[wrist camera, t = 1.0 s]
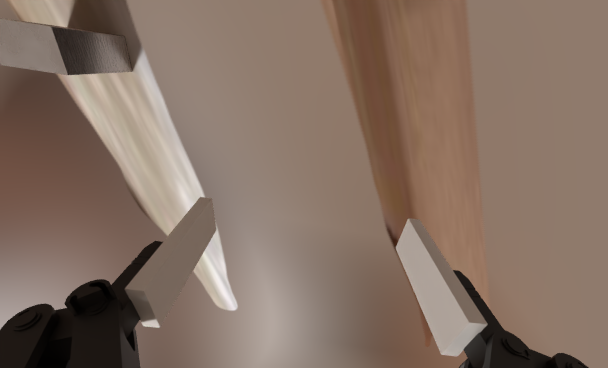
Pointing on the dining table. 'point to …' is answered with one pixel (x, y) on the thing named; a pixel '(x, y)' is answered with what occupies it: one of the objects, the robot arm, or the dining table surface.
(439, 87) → the dining table surface
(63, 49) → the socket
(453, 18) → the dining table surface
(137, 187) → the dining table surface
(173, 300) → the robot arm
